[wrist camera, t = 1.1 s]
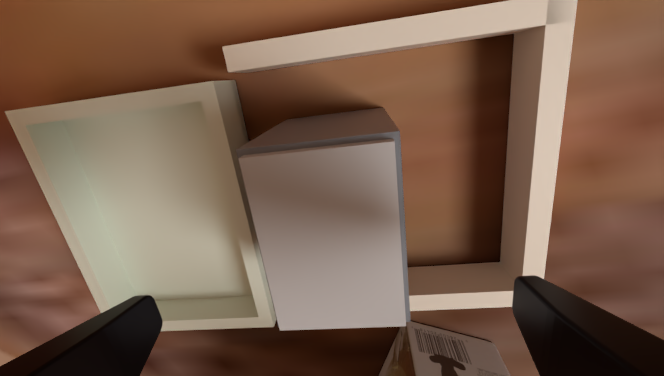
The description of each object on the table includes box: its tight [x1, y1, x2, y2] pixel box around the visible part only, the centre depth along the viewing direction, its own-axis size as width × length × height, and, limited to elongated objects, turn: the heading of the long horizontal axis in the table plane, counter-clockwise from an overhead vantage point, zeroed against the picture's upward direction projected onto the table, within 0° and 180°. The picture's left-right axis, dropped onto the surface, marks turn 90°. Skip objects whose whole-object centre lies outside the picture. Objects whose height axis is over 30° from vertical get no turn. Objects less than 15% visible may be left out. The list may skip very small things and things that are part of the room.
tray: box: [4, 80, 276, 331], centre depth 17 cm, size 10×14×2 cm
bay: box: [222, 0, 577, 311], centre depth 15 cm, size 14×14×2 cm
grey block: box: [236, 107, 411, 331], centre depth 13 cm, size 5×7×7 cm
